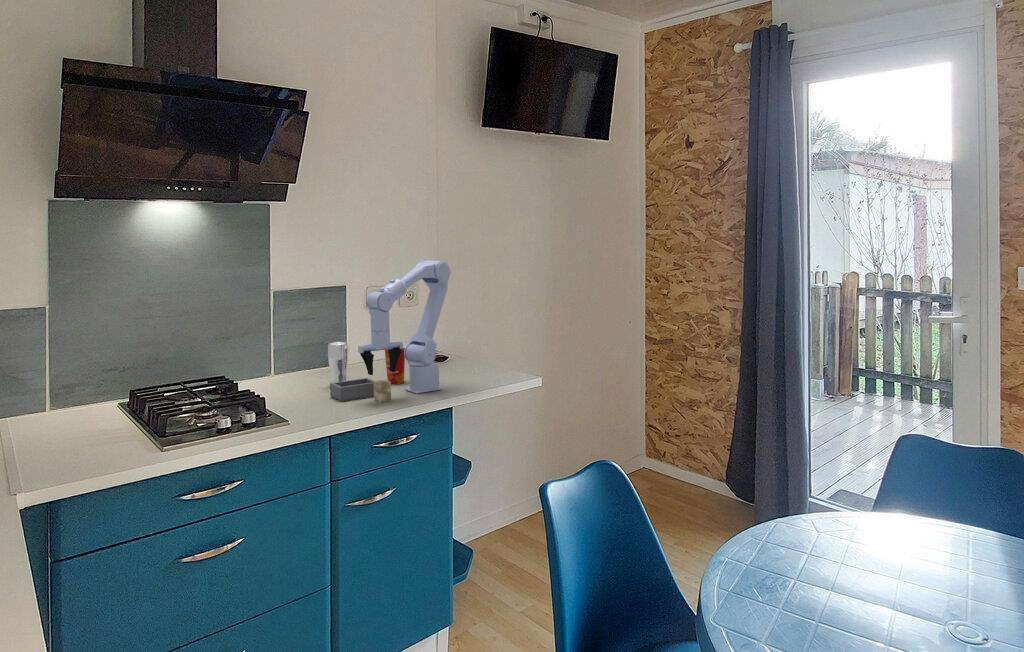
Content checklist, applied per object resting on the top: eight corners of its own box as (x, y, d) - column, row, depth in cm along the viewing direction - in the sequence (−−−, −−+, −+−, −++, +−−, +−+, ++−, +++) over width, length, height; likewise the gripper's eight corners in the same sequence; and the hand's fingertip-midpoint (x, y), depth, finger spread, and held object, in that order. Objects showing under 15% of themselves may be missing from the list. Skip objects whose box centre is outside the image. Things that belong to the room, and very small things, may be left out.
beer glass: (325, 387, 235) (323, 344, 233) (337, 383, 242) (335, 341, 240) (341, 389, 233) (340, 345, 231) (354, 384, 239) (352, 342, 237)
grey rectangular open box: (367, 390, 230) (367, 377, 229) (378, 395, 223) (378, 382, 222) (330, 396, 222) (329, 383, 221) (341, 401, 215) (340, 387, 215)
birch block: (385, 397, 220) (384, 379, 219) (391, 400, 217) (390, 381, 216) (374, 399, 218) (373, 381, 217) (379, 402, 215) (379, 383, 214)
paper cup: (380, 382, 242) (379, 343, 241) (399, 379, 248) (397, 340, 246) (392, 386, 237) (391, 346, 235) (411, 382, 242) (410, 343, 240)
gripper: (395, 326, 222) (396, 368, 224) (353, 331, 213) (354, 373, 215) (405, 329, 216) (406, 371, 218) (362, 333, 208) (364, 377, 209)
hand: (381, 373), depth 216 cm, fingers open, 7 cm apart
